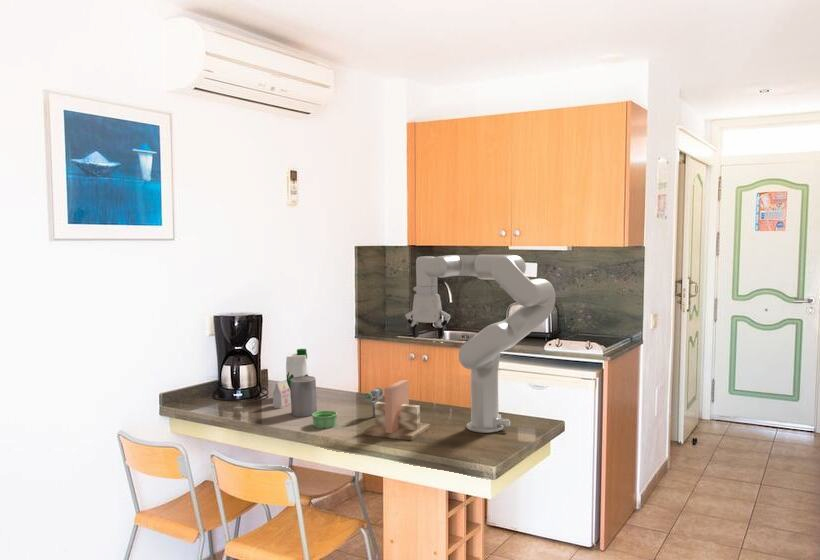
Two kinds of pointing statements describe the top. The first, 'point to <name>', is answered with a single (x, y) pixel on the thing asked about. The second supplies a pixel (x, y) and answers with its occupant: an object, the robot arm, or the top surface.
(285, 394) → the white cardboard box
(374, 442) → the top surface
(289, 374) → the milk carton
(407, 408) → the slotted stand
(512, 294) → the robot arm
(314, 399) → the pillar candle
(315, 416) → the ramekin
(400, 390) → the salmon pink flat slab
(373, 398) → the mechanical component
